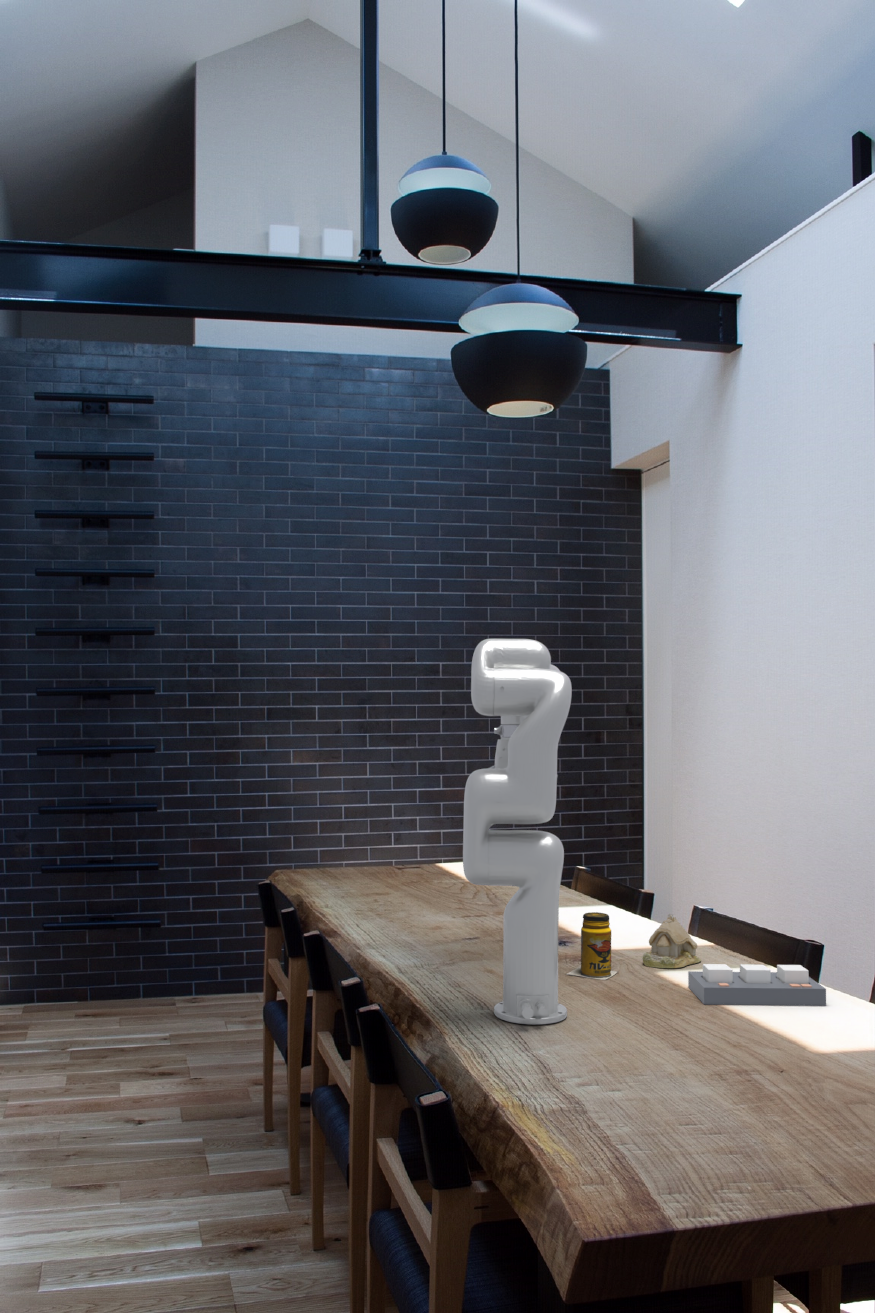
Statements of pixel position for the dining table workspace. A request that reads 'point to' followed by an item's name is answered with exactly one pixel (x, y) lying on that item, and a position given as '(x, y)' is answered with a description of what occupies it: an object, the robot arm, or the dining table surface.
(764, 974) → the key
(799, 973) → the key
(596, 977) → the condiment
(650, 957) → the ceramic model
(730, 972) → the key
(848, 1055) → the dining table surface
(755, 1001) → the keypad
